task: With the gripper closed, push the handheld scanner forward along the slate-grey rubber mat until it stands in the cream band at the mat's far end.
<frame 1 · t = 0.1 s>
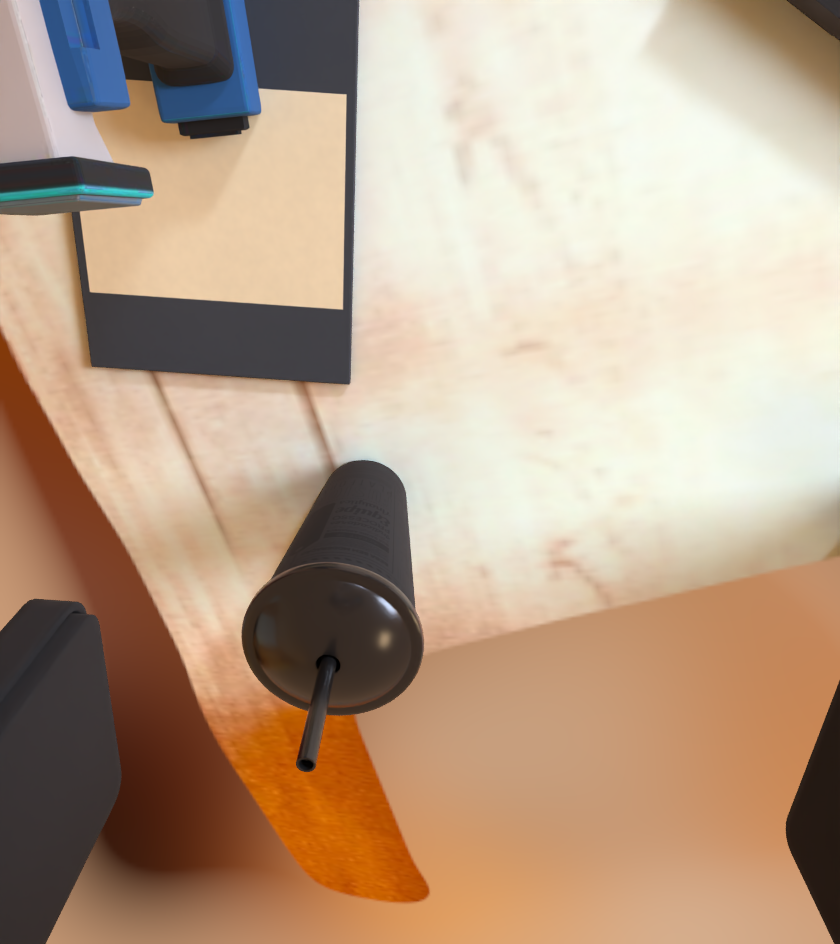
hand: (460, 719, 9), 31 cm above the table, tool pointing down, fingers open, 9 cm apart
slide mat: (206, 84, 34), on the table
drinking cup: (365, 496, 43), on the table
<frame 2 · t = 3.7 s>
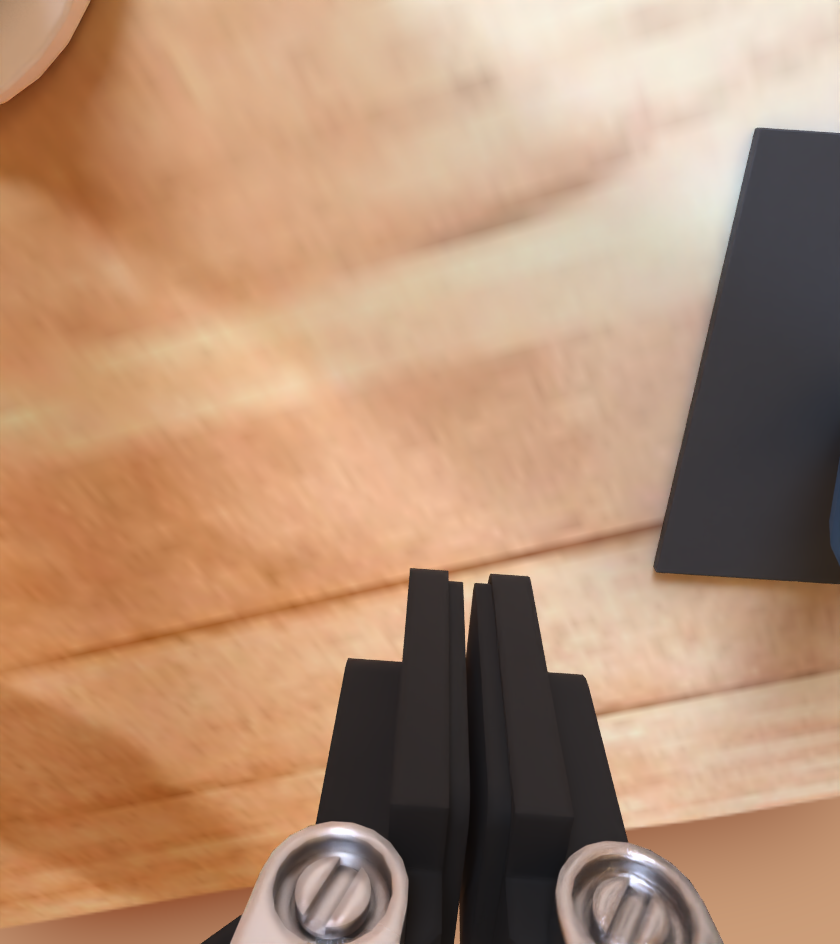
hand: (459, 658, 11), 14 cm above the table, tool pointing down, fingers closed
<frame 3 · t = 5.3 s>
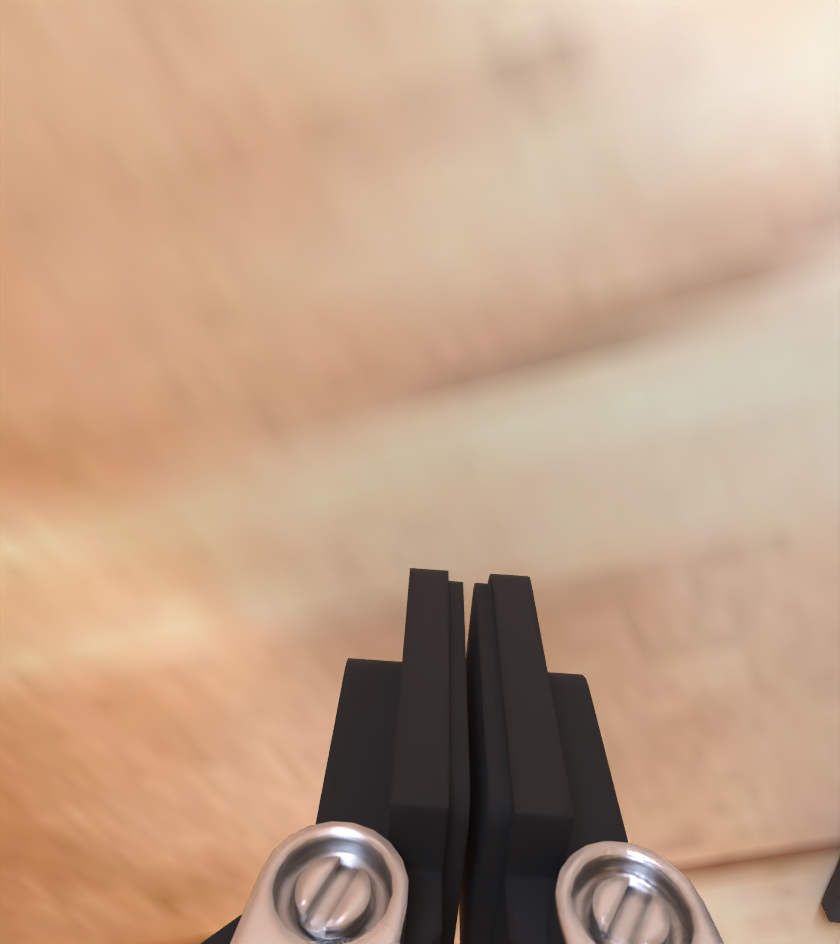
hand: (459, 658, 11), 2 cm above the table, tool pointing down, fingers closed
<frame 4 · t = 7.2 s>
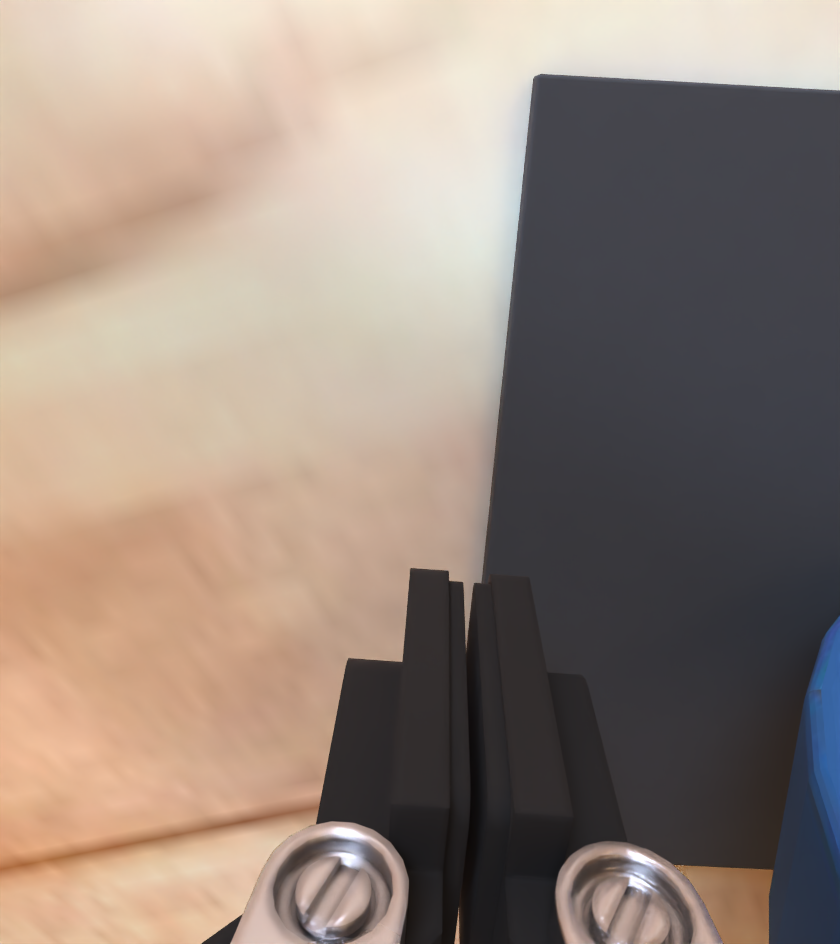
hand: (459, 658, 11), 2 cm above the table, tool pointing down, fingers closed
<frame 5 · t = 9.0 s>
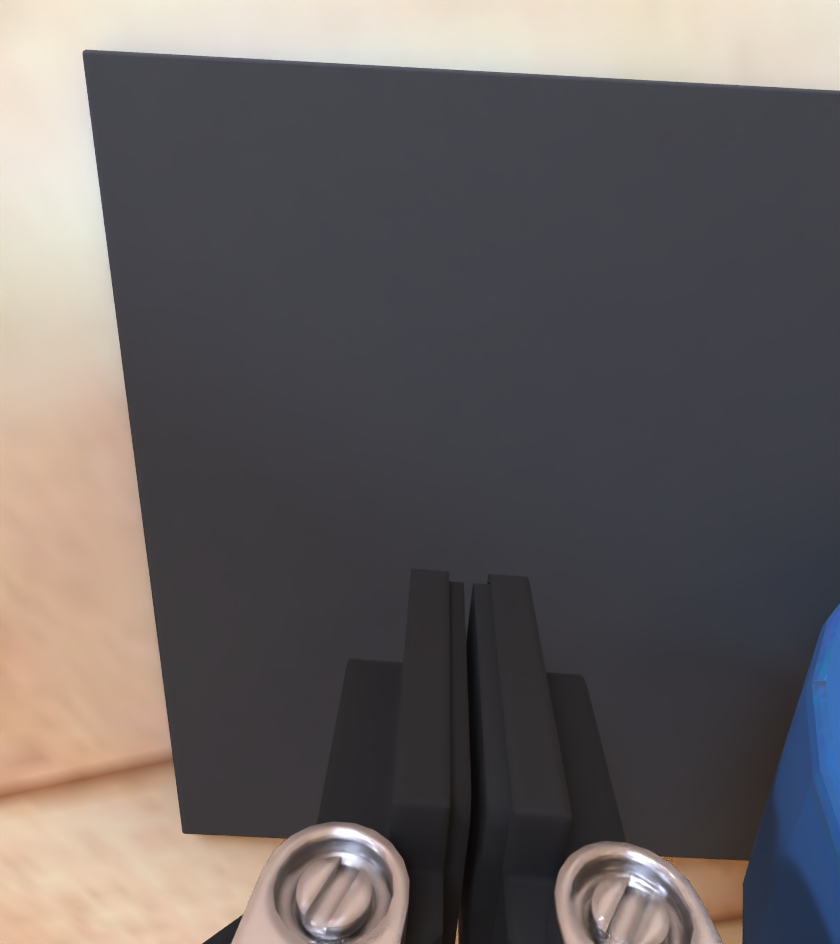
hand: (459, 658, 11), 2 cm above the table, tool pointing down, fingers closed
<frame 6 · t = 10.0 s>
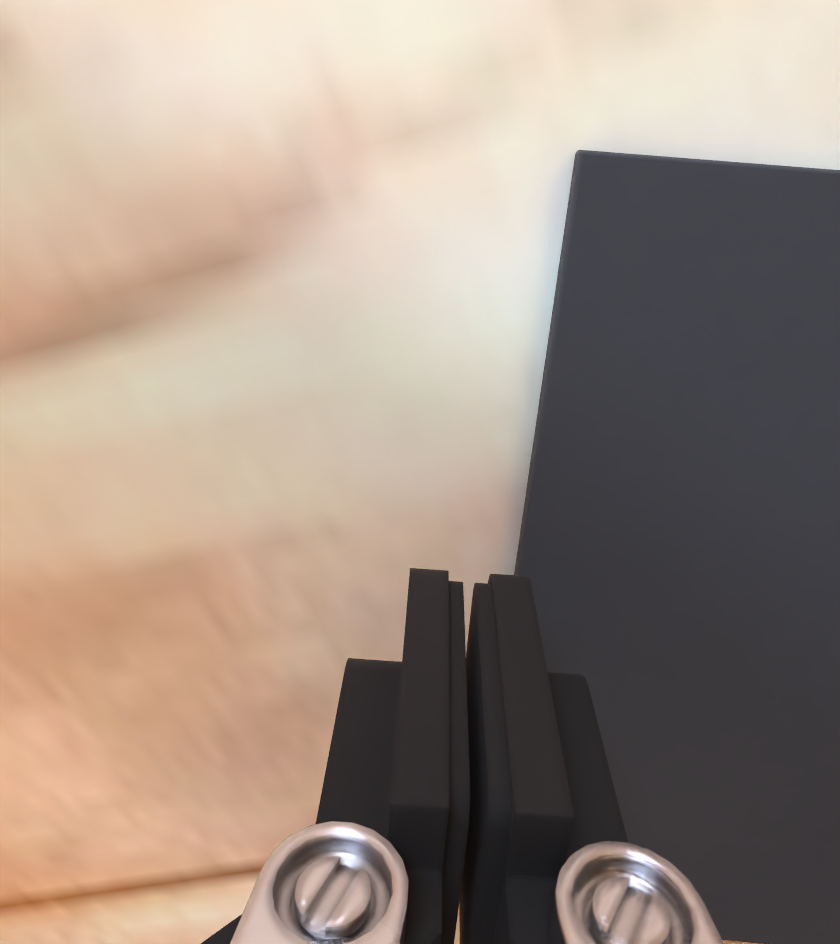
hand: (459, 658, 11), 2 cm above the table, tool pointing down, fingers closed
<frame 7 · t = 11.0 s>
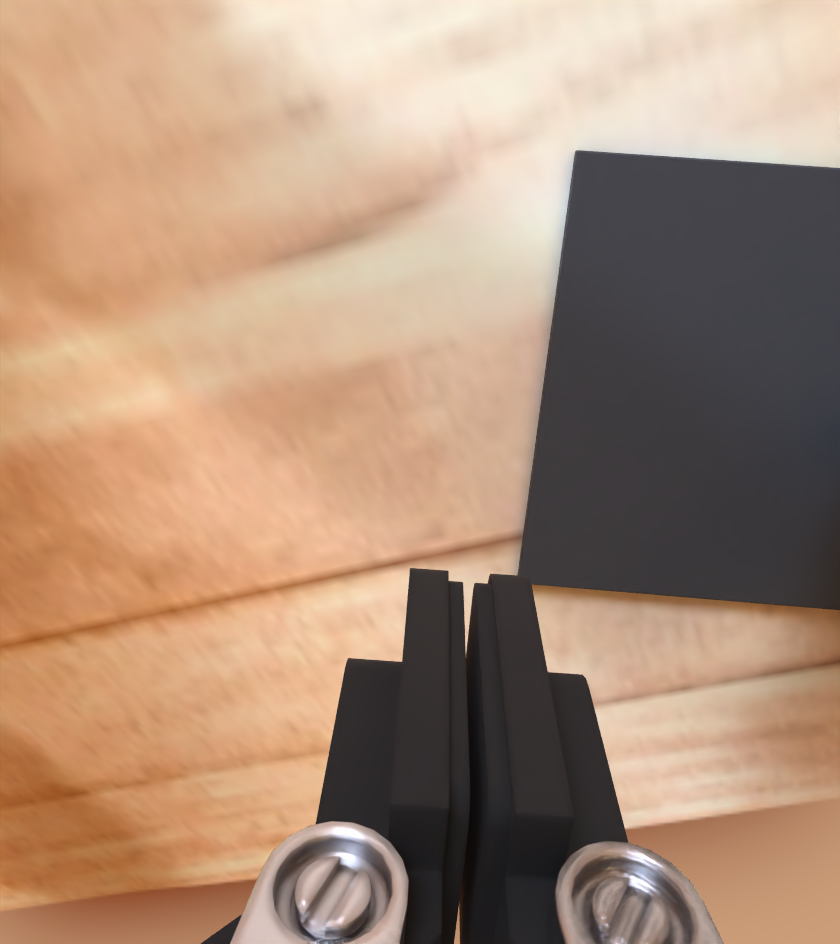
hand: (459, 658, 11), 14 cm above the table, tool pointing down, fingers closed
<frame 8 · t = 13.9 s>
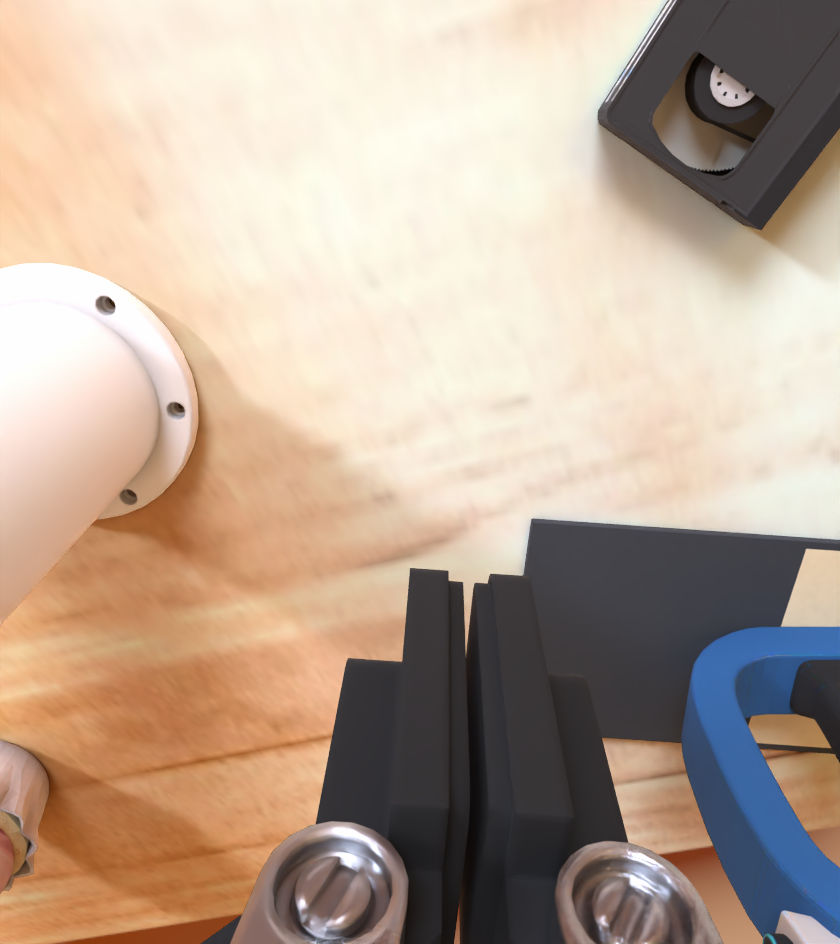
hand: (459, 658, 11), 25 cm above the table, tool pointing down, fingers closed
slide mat: (768, 647, 41), on the table
vhs tape: (787, 1, 28), on the table
handheld scanner: (801, 650, 41), resting on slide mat
cupcake: (3, 772, 47), on the table
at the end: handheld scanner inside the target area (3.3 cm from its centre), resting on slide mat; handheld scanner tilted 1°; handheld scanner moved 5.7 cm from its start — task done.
